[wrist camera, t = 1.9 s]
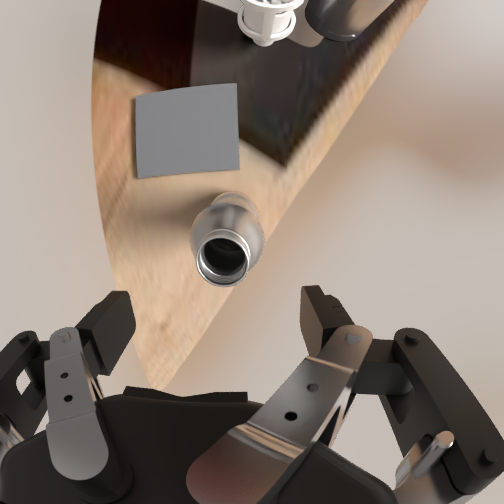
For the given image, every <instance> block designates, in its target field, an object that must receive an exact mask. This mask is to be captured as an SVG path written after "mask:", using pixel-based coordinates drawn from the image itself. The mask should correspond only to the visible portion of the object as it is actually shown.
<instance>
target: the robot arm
mask: <svg viewBox="0 0 504 504" xmlns="http://www.w3.org/2000/svg"><path fill="white" fill-rule="evenodd" d="M393 1H394V0H309V1H308V4H307V6H306V8H305V17H306V20H307V22H308V24H309V25H310V26H311V27H312V28H313V29H314V30H315V31H316V32H317V33H319V34H320V35H322V36H324V37H326V38H328V39H331V40H335V41H343V42H345V41H351V40H354V39H355V38H357V37H358V36H359V35H360V34H361V33H362V32H363V31H364V30H365V29H366V28H367V27H368V26H369V25H370V24H371V23H372V22H373V21H374V20H375V19H376V18H377V17H378V16H379V15H380V14H381V13H382V12H383V11H384V10H385V9H386V8H387V7H388V6H389V5H390V4H391V3H392V2H393ZM300 327H301V332H302V334H303V338H304V340H305V343H306V347H307V350H308V353H309V356H307V357H306V358H305V359H304V360H303V361H302V363H300V365H299V366H298V367H297V368H296V369H295V371H294V372H293V373H292V374H291V375H290V377H288V379H287V380H286V381H285V382H284V383H283V384H282V385H281V387H280V388H279V389H278V390H277V391H276V392H275V393H274V394H273V395H272V396H271V397H270V399H269V400H268V401H267V402H266V403H265V404H261V403H257V402H252V401H248V395H247V392H213V393H207V394H201V395H194V396H187V397H180V396H175V395H172V394H168V393H165V392H161V391H158V390H155V389H148V388H139V387H130V386H126V388H125V390H124V392H123V394H119V395H113V396H109V397H106V398H105V397H104V395H103V391H102V388H101V386H100V383H99V380H98V378H97V376H98V374H100V375H106V376H109V375H110V374H111V372H112V370H113V368H114V367H115V365H116V363H117V361H118V360H119V358H120V356H121V355H122V353H123V351H124V349H125V348H126V346H127V344H128V343H129V341H130V339H131V338H132V336H133V334H134V332H135V329H136V321H135V317H134V313H133V309H132V304H131V300H130V296H129V293H128V292H127V291H111V293H109V295H107V297H106V298H105V299H104V300H103V301H101V302H100V303H98V304H96V305H95V306H94V307H93V308H92V309H91V310H90V312H88V313H87V314H86V316H85V317H84V318H83V319H82V320H81V321H80V322H79V323H78V324H77V325H76V326H75V327H74V328H73V327H66V328H62V329H59V330H57V331H56V332H54V333H53V334H52V335H51V337H50V341H39V340H38V337H37V335H36V333H35V332H34V331H25V332H22V333H19V334H18V335H16V336H15V337H14V338H13V339H12V340H11V341H10V342H9V343H8V344H7V345H6V346H5V348H4V349H3V350H2V351H1V352H0V504H465V503H466V502H467V501H469V500H470V499H472V498H473V497H474V496H475V495H477V494H478V493H479V492H480V491H482V490H483V489H484V488H485V487H487V486H488V485H489V484H490V483H491V482H492V481H494V480H495V479H496V478H497V477H498V476H499V475H500V474H501V473H502V472H503V471H504V440H503V438H502V436H501V435H500V433H499V432H498V430H497V428H496V427H495V425H494V424H493V422H492V421H491V419H490V418H489V416H488V415H487V413H486V412H485V410H484V409H483V407H482V406H481V405H480V403H479V402H478V400H477V399H476V397H475V396H474V395H473V393H472V392H471V390H470V389H469V388H468V386H467V385H466V384H465V382H464V381H463V379H462V378H461V377H460V375H459V374H458V373H457V372H456V370H455V369H454V368H453V366H452V365H451V364H450V363H449V361H448V360H447V359H446V357H445V356H444V355H443V354H442V352H441V351H440V350H439V349H438V347H437V346H436V345H435V344H434V343H433V341H432V340H431V339H430V338H429V337H428V335H427V334H426V333H424V332H423V331H421V330H418V329H415V328H403V329H400V330H398V331H397V332H396V333H395V336H394V340H380V339H373V335H372V333H371V332H370V331H369V330H368V329H366V328H364V327H362V326H358V325H355V324H354V322H353V321H352V320H351V318H350V316H349V315H348V313H347V312H346V311H345V309H344V307H342V304H341V303H340V301H339V300H338V299H337V298H335V297H333V296H332V295H324V293H323V291H322V290H321V288H320V286H319V285H313V286H302V288H301V305H300ZM23 370H25V371H26V373H27V375H28V377H29V379H30V381H31V382H30V384H29V385H28V387H27V388H26V389H25V391H24V392H23V394H22V395H21V394H20V393H19V391H18V389H17V386H16V380H17V377H18V376H19V375H20V373H21V372H22V371H23ZM358 394H373V395H374V394H375V395H378V396H379V398H380V400H381V403H382V405H383V407H384V410H385V412H386V415H387V417H388V420H389V422H390V424H391V427H392V429H393V432H394V434H395V437H396V440H397V442H398V445H399V447H400V450H401V452H402V455H403V458H404V459H403V460H402V461H401V463H400V464H399V466H398V467H397V470H396V474H395V476H396V487H395V490H393V491H392V490H391V488H390V487H389V486H388V485H386V484H385V483H384V482H383V481H381V480H380V479H378V478H376V477H375V476H373V475H371V474H369V473H368V472H366V471H364V470H363V469H361V468H359V467H358V466H356V465H355V464H353V463H351V462H350V461H348V460H347V459H345V458H344V457H342V456H341V455H339V454H337V453H336V452H335V451H333V450H332V449H330V448H331V446H332V445H333V443H334V440H335V439H336V436H337V434H338V432H339V430H340V428H341V426H342V424H343V422H344V421H345V419H346V417H347V415H348V413H349V411H350V409H351V407H352V406H353V403H354V402H355V400H356V397H357V396H358ZM47 409H48V416H49V423H48V424H47V425H46V429H45V430H43V431H41V432H39V433H37V434H36V435H34V433H35V431H36V429H37V428H38V426H39V424H40V422H41V420H42V418H43V417H44V415H45V413H46V411H47ZM33 435H34V436H33Z"/></svg>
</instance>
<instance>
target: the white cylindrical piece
mask: <svg viewBox="0 0 504 504" xmlns="http://www.w3.org/2000/svg"><path fill="white" fill-rule="evenodd" d="M240 1H242V2H243V3H244V5H243V6H242V7H241V8H240V9H239V12H238V25H239V27H240V29H241V30H242V32H243V33H244V34H246V35H247V36H249V37H250V38H253V41H254V42H255V43H256V44H257V45H259V46H269V45H271V44H272V43H273V42H274V41H277V40H281V39H283V38H285V37H287V36H288V35H289V34H290V33H291V32H292V31H293V28H294V26H295V23H296V17H295V14H294V11H293V10H294V9H296V8H298V7H299V6H300V5H301V4H303V2H304V0H240ZM287 2H290V3H287ZM280 13H281V14H280ZM243 14H244V23H243V21H242V16H243ZM289 21H291V25H290V27H289V28H288V29H287V27H288V24H289Z"/></svg>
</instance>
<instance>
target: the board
mask: <svg viewBox="0 0 504 504" xmlns="http://www.w3.org/2000/svg"><path fill="white" fill-rule="evenodd" d="M136 157H137V175H138V178H145V177H154V176H162V175H172V174H182V173H194V172H206V171H221V170H240V163H239V138H238V110H237V84H236V83H230V84H216V85H205V86H195V87H187V88H180V89H173V90H166V91H160V92H155V93H149V94H144V95H139V96H136Z"/></svg>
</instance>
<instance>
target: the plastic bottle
mask: <svg viewBox="0 0 504 504" xmlns="http://www.w3.org/2000/svg"><path fill="white" fill-rule="evenodd" d="M264 245H265V238H264V232H263V229H262V227H261V225H260V223H259V211H258V209H257V206H256V204H255V203H254V202H253V200H252V199H251V198H250V197H248V196H247V195H245V194H243V193H240V192H235V191H230V192H225V193H222V194H220V195H219V196H217V197H216V198H215V199H214V200H213V202H212V203H211V205H210V206H209V207H207V208H205V209H204V210H202V211H201V212H200V213H199V214H198V215H197V217H196V218H195V220H194V221H193V224H192V226H191V229H190V246H191V250H192V253H193V255H194V257H195V259H196V266H197V269H198V271H199V273H200V275H201V276H202V277H203V278H204V279H205V280H206V281H207V282H209V283H210V284H212V285H214V286H218V287H230V286H234V285H236V284H238V283H239V282H241V281H242V280H243V279H244V277H245V276H246V274H247V272H248V271H250V270H251V269H252V268H253V267H254V266H255V265H256V264H257V263H258V262H259V260H260V258H261V256H262V254H263V250H264Z"/></svg>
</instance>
